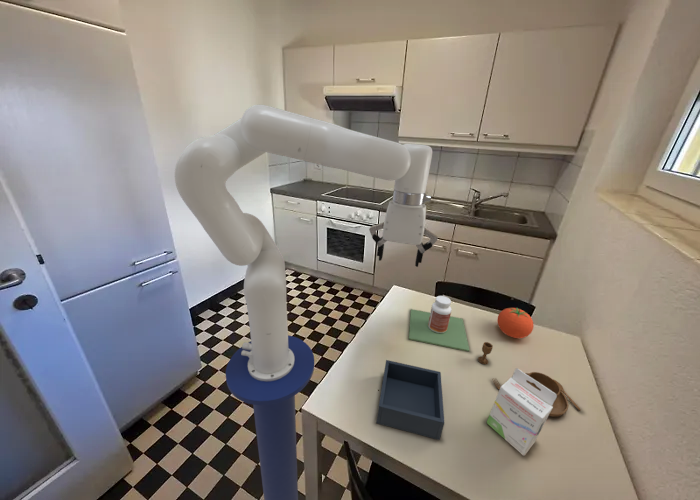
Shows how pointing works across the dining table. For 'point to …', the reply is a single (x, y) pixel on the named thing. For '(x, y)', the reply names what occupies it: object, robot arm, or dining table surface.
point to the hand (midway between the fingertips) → (398, 261)
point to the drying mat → (450, 338)
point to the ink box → (521, 411)
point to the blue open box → (411, 400)
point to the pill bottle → (440, 314)
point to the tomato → (515, 322)
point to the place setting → (560, 402)
